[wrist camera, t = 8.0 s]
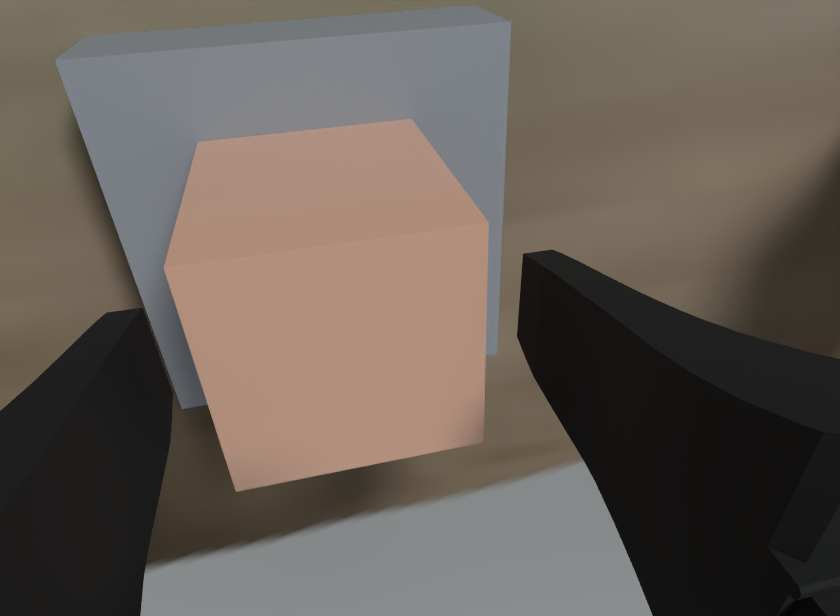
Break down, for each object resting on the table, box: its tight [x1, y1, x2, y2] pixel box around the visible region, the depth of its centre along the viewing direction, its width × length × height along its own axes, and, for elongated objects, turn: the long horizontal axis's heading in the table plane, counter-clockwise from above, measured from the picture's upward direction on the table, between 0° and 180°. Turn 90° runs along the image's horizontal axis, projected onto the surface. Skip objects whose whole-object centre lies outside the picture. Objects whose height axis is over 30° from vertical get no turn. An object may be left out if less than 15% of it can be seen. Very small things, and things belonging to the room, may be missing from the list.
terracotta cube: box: [164, 119, 489, 492], centre depth 12 cm, size 5×5×6 cm
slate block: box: [55, 5, 511, 409], centre depth 16 cm, size 9×9×3 cm
